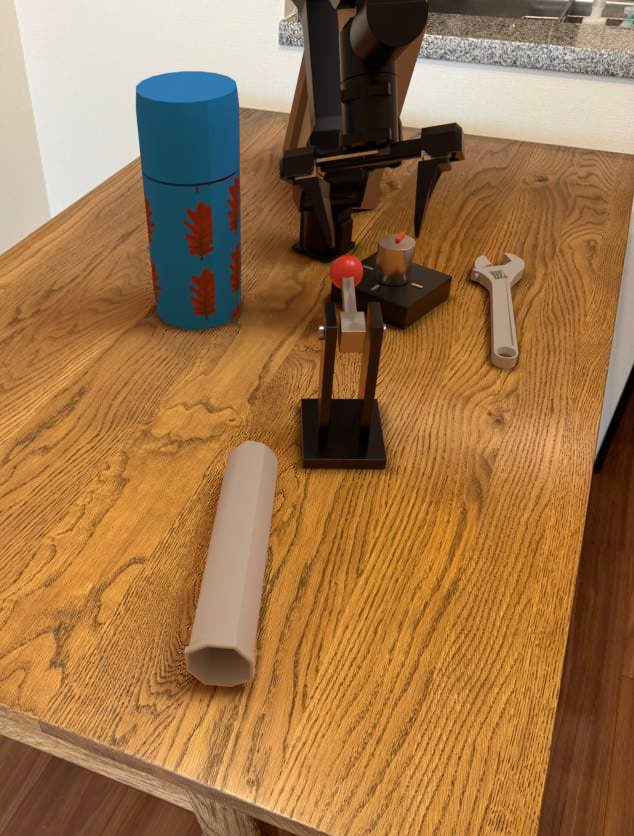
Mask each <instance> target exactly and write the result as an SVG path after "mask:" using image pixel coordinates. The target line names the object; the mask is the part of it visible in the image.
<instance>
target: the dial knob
mask: <svg viewBox="0 0 634 836" xmlns="http://www.w3.org/2000/svg"><path fill="white" fill-rule="evenodd" d="M416 244H417V242H416V240H415V239H414V238H413V237H412V236H410V235H407V234H406V232H405V231H400V232H399V233H387V234H384V235H382V236H380V237H379V238H378V241H377V249H376V252H377V256H376V265H375V273H374V277H375V279H376V280H377V281H378V282H380V283H382V284H385V285H392V286H396V285H402V284H405V283H407V282H408V281H409V280H410V277H411V271H412V264H413V263H414V257H415V251H416Z"/></svg>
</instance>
